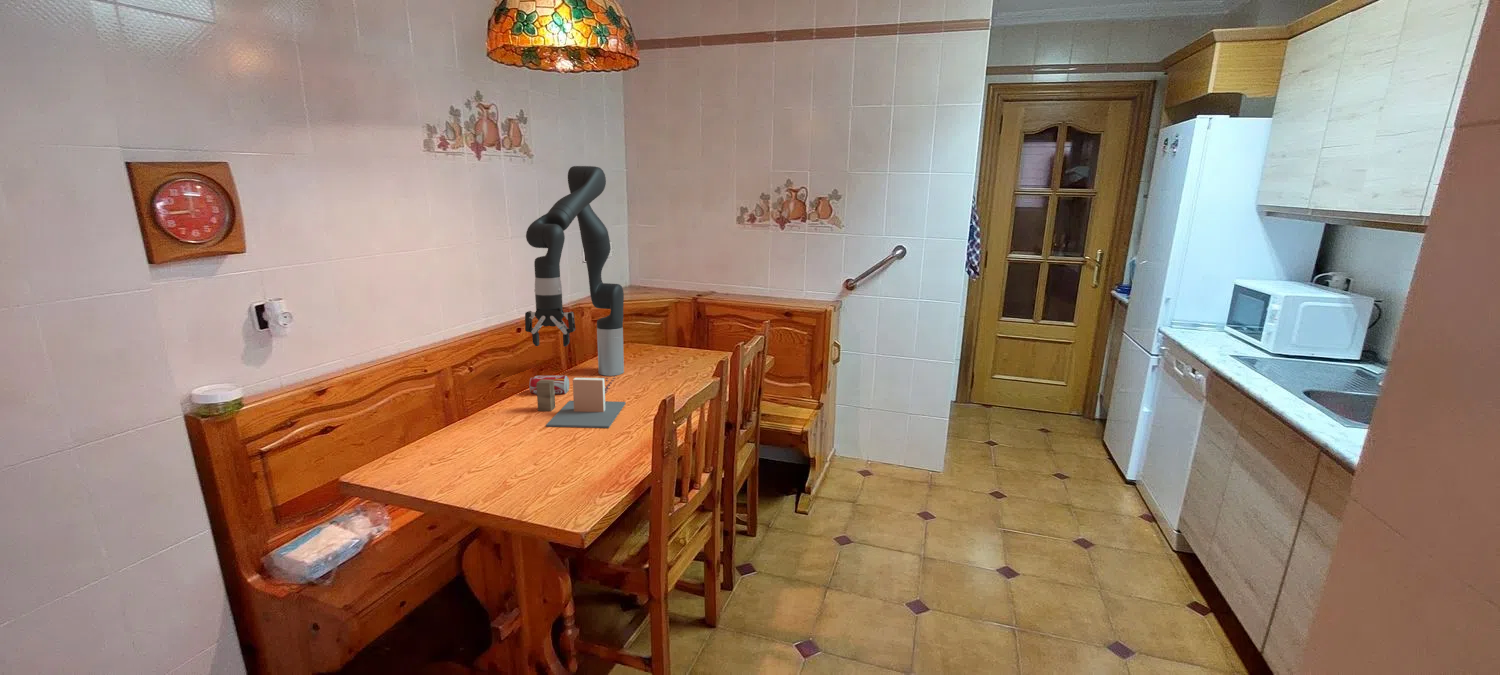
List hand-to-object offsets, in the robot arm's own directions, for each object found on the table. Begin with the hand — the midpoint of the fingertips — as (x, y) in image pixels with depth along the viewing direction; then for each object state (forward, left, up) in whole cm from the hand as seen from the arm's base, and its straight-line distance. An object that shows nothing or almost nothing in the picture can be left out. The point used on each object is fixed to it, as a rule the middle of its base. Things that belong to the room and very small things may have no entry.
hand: (551, 345), depth 182 cm
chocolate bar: (-26, +8, -21) cm, 35 cm away
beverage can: (-17, -1, -18) cm, 25 cm away
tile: (+1, +11, -20) cm, 23 cm away
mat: (+3, +11, -21) cm, 24 cm away
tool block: (-1, -3, -21) cm, 21 cm away
